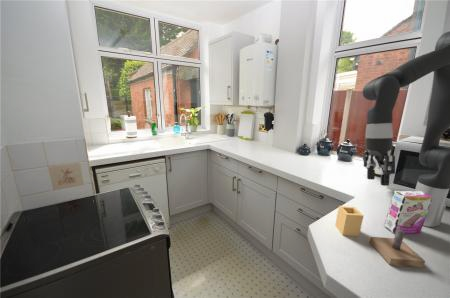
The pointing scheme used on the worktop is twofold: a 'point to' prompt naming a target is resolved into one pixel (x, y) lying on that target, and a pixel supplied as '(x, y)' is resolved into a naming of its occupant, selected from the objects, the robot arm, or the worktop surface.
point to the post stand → (396, 251)
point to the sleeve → (349, 221)
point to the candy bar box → (407, 211)
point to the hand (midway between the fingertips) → (377, 182)
